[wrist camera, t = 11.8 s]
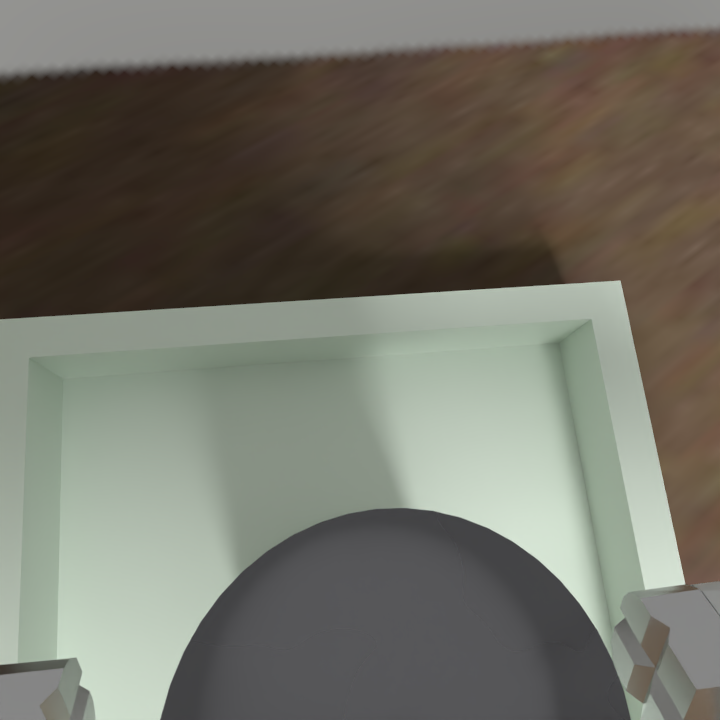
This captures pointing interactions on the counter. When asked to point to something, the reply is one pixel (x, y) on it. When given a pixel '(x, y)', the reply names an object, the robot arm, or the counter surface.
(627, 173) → the counter surface
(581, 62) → the counter surface
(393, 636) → the shaker
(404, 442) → the tray
